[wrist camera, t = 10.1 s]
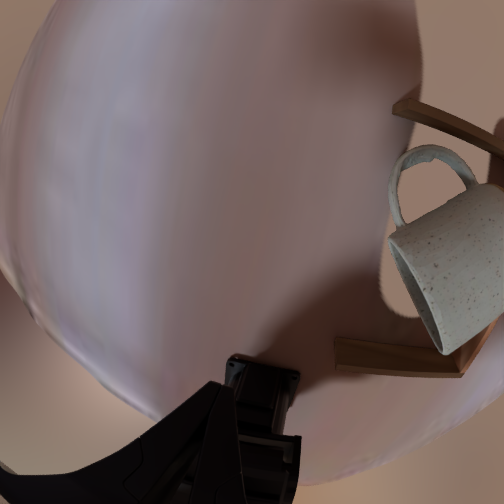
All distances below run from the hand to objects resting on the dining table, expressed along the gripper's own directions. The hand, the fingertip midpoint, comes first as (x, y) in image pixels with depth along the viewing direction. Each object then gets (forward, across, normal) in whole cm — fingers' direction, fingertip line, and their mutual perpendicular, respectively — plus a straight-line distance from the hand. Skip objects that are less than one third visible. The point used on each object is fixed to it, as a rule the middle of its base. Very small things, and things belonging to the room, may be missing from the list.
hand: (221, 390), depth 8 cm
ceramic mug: (+11, -10, -5) cm, 16 cm away
